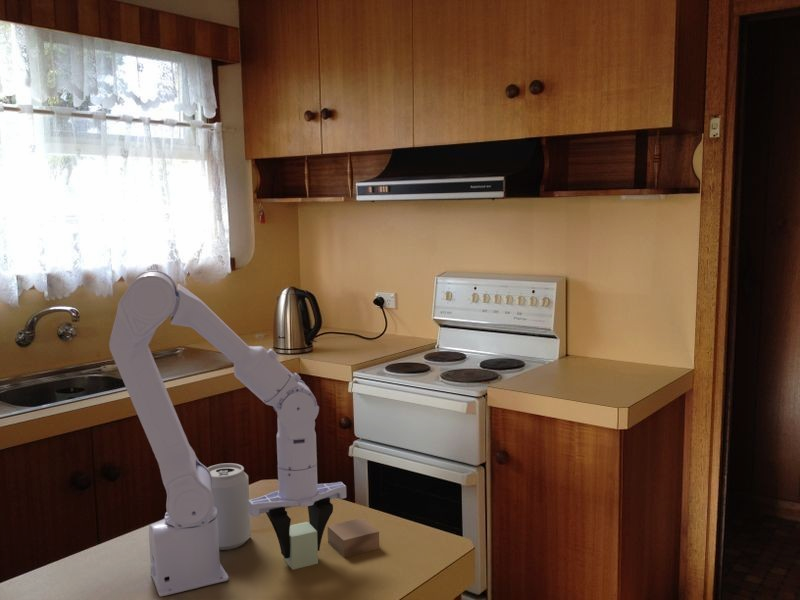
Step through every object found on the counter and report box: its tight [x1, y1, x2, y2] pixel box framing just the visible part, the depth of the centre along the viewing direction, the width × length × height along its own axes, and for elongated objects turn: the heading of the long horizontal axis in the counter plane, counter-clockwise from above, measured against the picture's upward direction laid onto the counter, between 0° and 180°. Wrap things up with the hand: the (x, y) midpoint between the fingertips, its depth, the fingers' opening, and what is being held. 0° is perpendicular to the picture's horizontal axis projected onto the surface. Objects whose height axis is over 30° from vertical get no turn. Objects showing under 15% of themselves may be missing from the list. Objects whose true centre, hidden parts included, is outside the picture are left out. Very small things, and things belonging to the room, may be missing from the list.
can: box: [207, 462, 252, 551], centre depth 118 cm, size 8×8×12 cm
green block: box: [283, 521, 319, 570], centre depth 111 cm, size 4×4×5 cm
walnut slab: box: [327, 517, 380, 558], centre depth 116 cm, size 6×6×3 cm
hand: (300, 551), depth 111 cm, fingers closed on green block, 4 cm apart
